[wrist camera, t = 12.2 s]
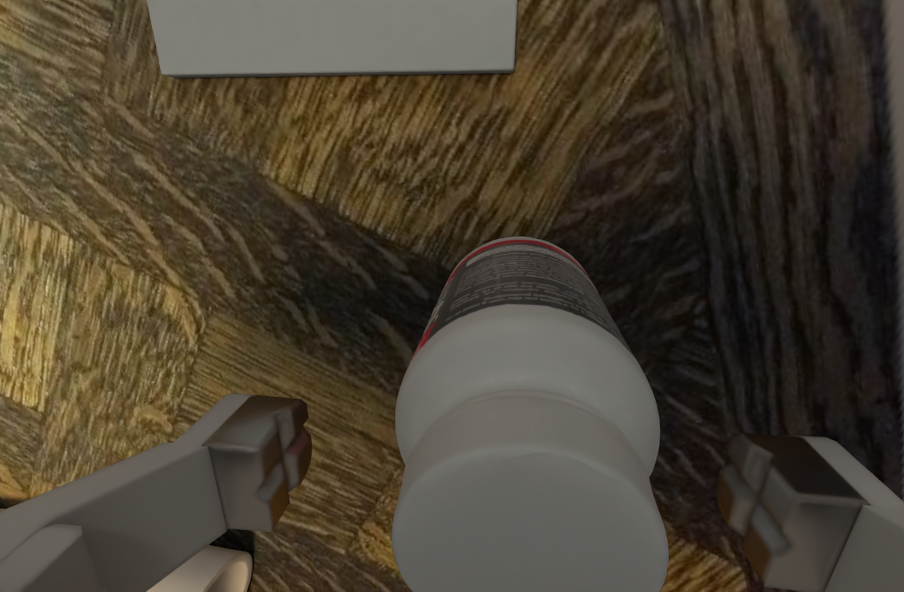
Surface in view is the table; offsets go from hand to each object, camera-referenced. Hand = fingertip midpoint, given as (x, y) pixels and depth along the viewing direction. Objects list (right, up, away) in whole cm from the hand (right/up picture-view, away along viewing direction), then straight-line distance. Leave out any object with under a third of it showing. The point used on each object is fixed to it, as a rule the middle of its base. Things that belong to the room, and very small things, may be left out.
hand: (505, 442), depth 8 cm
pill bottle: (+1, +2, +7) cm, 8 cm away
